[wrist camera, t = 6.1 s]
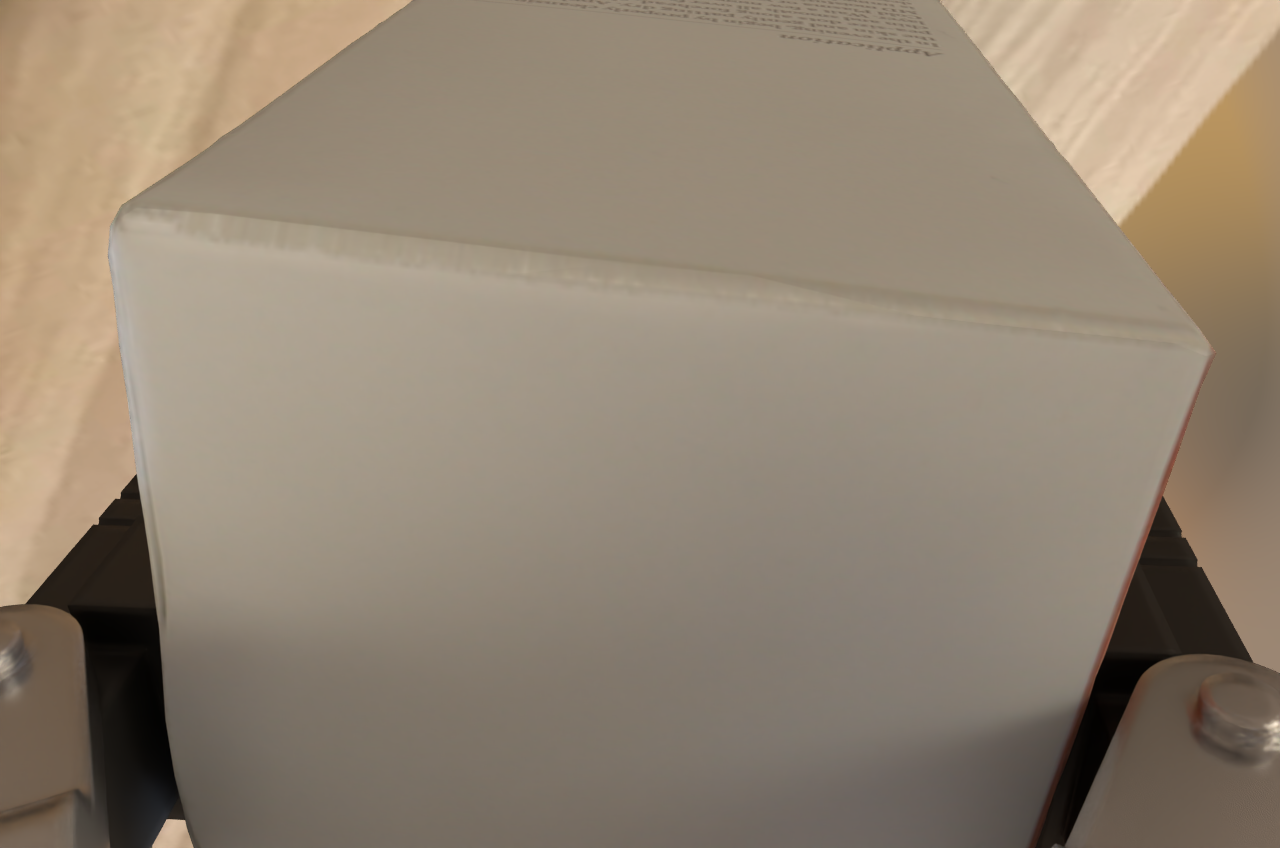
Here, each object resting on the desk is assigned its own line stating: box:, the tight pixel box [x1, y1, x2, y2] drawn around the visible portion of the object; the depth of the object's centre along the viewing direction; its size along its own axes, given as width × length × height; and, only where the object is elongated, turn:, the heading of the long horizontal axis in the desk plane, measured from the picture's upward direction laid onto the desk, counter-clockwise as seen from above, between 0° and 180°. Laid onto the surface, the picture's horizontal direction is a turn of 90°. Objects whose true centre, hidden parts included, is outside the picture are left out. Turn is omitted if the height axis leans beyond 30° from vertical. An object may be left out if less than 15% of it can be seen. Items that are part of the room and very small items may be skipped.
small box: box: [108, 0, 1216, 848], centre depth 14 cm, size 8×6×13 cm
